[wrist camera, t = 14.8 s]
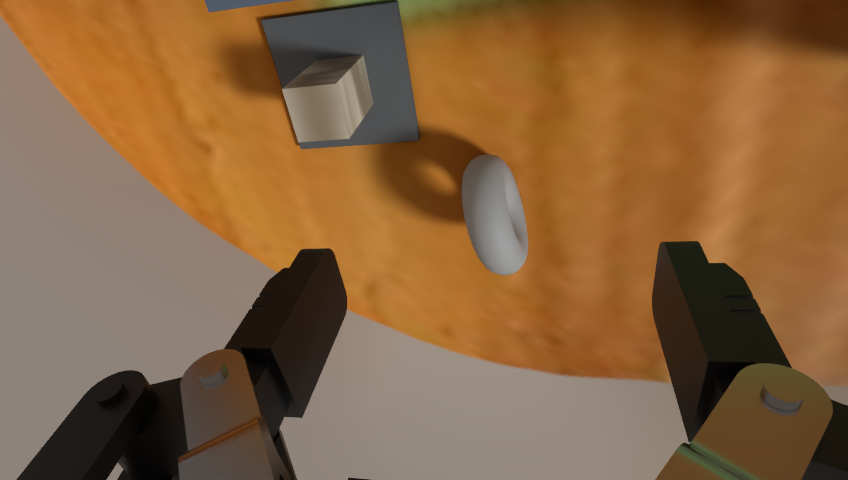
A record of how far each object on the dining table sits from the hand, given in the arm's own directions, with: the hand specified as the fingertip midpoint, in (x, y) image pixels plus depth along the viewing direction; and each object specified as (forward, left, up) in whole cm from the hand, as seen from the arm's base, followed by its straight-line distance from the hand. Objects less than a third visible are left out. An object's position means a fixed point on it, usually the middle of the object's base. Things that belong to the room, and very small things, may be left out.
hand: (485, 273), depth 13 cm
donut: (+2, +14, -30) cm, 33 cm away
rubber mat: (+14, +4, -30) cm, 33 cm away
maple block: (+14, +4, -30) cm, 33 cm away
